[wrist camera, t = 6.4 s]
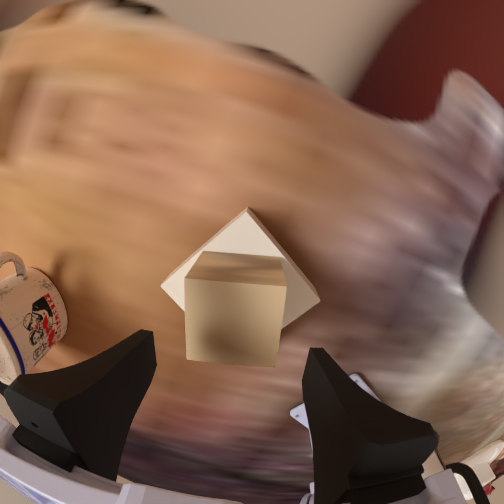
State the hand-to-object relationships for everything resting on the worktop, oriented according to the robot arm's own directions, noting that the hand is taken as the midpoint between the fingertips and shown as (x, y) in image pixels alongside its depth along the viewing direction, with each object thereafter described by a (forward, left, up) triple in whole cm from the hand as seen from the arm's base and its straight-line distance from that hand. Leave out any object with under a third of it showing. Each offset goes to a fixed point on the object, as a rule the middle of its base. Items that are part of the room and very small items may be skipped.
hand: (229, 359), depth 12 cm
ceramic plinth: (0, 0, -10) cm, 10 cm away
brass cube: (0, 0, -7) cm, 7 cm away
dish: (-76, -6, -10) cm, 77 cm away
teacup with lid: (+12, +18, -10) cm, 24 cm away
